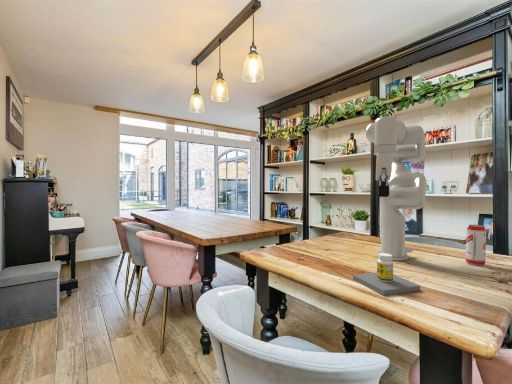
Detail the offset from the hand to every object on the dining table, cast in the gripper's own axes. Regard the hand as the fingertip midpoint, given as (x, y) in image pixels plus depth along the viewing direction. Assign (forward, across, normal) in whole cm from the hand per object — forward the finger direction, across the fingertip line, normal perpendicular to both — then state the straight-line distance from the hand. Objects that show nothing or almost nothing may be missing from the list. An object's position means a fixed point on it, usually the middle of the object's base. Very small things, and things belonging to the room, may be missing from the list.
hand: (384, 196), depth 101 cm
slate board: (+28, +16, +1) cm, 32 cm away
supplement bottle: (+27, +16, +1) cm, 31 cm away
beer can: (+28, -28, +33) cm, 52 cm away
